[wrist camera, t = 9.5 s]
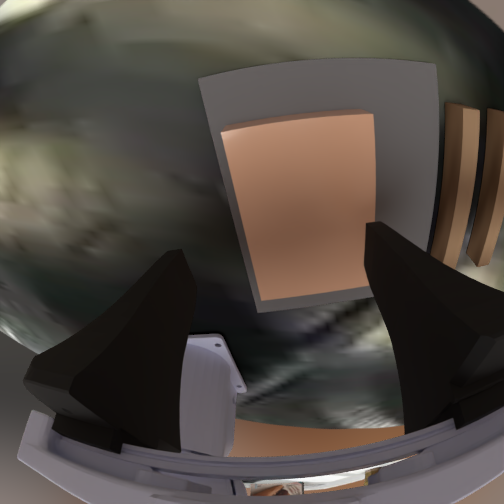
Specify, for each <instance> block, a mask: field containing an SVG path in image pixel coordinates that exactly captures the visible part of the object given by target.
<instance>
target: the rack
mask: <svg viewBox="0 0 504 504" xmlns="http://www.w3.org/2000/svg"><path fill="white" fill-rule="evenodd" d="M479 121H480V110H477V109H474V108H471V107H468V106H465V105H462V104H456V103H447V102H445V150H444V166H443V178H442V188H441V196H440V204H439V211H438V217H437V223H436V229H435V234H434V239H433V244H432V249H431V254H430V255H431V256H433V257H434V258H436V259H437V260H439V261H441V262H442V263H444V264H446V265H447V266H449V267H451V268H453V269H455V267H456V264H457V261H458V257H459V254H460V250H461V246H462V242H463V238H464V234H465V230H466V226H467V221H468V217H469V212H470V206H471V201H472V195H473V189H474V182H475V175H476V166H477V156H478V144H479ZM503 216H504V112H502V111H500V110H495V109H490V108H487V136H486V150H485V161H484V170H483V177H482V184H481V190H480V196H479V202H478V207H477V212H476V216H475V221H474V225H473V230H472V234H471V238H470V241H469V245H468V249H467V252H466V253H467V254H468V256H469V257H470V258H471V259H472V261H473V262H474V263H475V265H476V266H477V267H480V266H484V265H488V264H489V262H490V259H491V256H492V254H493V251H494V247H495V244H496V241H497V238H498V234H499V231H500V227H501V223H502V220H503Z"/></svg>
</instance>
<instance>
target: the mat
mask: <svg viewBox="0 0 504 504" xmlns="http://www.w3.org/2000/svg"><path fill="white" fill-rule="evenodd" d="M198 82H199V86H200V90H201V94H202V98H203V102H204V106H205V110H206V115H207V119H208V123H209V127H210V131H211V135H212V139H213V143H214V147H215V151H216V155H217V158H218V162H219V166H220V170H221V174H222V178H223V182H224V186H225V190H226V194H227V198H228V202H229V205H230V209H231V213H232V217H233V221H234V225H235V229H236V232H237V236H238V240H239V244H240V248H241V252H242V255H243V259H244V263H245V267H246V271H247V274H248V278H249V282H250V286H251V289H252V293H253V297H254V301H255V304H256V308H257V312H258V313H262V312H271V311H279V310H288V309H295V308H303V307H310V306H318V305H324V304H331V303H338V302H344V301H350V300H356V299H362V298H368V297H374V295H373V293H372V291H371V288H370V285H369V286H363V287H357V288H351V289H345V290H338V291H331V292H325V293H318V294H311V295H303V296H296V297H288V298H280V299H272V300H264V301H261V297H260V293H259V289H258V285H257V280H256V276H255V272H254V268H253V264H252V260H251V256H250V252H249V247H248V243H247V239H246V235H245V231H244V227H243V223H242V219H241V214H240V210H239V206H238V202H237V198H236V194H235V190H234V185H233V181H232V177H231V173H230V169H229V165H228V160H227V156H226V152H225V148H224V144H223V140H222V135H221V131H222V130H223V129H224V127H225V126H226V125H231V124H236V123H242V122H247V121H253V120H259V119H265V118H271V117H278V116H285V115H293V114H301V113H311V112H321V111H333V110H348V109H362V110H365V111H367V112H370V113H372V114H373V118H374V133H375V159H376V200H375V222H377V221H381V222H383V223H384V224H386V225H388V226H389V227H391V228H392V229H393V230H395V231H396V232H398V233H399V234H401V235H402V236H403V237H405V238H406V239H408V240H409V241H410V242H412V243H413V244H415V245H416V246H418V247H419V248H421V249H422V250H424V251H425V252H426V249H427V244H428V238H429V233H430V227H431V221H432V214H433V207H434V199H435V191H436V181H437V169H438V152H439V99H438V83H437V71H436V64H432V63H424V62H416V61H407V60H395V59H377V58H331V59H313V60H301V61H291V62H282V63H274V64H267V65H261V66H255V67H249V68H243V69H238V70H233V71H228V72H224V73H219V74H215V75H211V76H207V77H203V78H199V79H198Z"/></svg>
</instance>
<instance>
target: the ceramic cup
mask: <svg viewBox="0 0 504 504" xmlns="http://www.w3.org/2000/svg"><path fill="white" fill-rule="evenodd" d="M380 468H381V467H378V468H373V469H370V470H366V472H365V483H364V486H366V485H368V479H367V478H368V477H369V476H370V475H373V474H375V473H377V472H379V469H380Z"/></svg>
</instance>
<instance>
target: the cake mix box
mask: <svg viewBox="0 0 504 504" xmlns="http://www.w3.org/2000/svg"><path fill="white" fill-rule="evenodd" d="M301 494H304V483H303V482H294V483H279V484H251V496H284V495H301Z"/></svg>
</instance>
